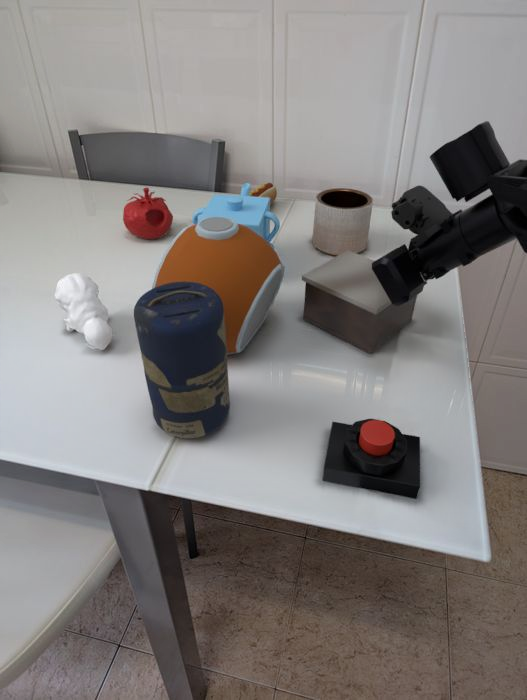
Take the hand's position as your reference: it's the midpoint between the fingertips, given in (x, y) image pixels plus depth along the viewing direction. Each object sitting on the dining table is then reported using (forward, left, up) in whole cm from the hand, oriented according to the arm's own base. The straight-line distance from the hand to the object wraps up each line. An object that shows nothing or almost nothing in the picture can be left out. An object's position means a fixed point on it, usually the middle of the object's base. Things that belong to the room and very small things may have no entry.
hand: (382, 280), depth 71 cm
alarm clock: (+20, +12, -9) cm, 25 cm away
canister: (+13, +29, -9) cm, 33 cm away
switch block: (-9, +25, -8) cm, 28 cm away
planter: (+16, -24, -9) cm, 30 cm away
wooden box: (+3, -1, -8) cm, 9 cm away
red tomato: (+52, -9, -9) cm, 53 cm away
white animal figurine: (+36, +23, -9) cm, 44 cm away
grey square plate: (+3, -1, -2) cm, 4 cm away
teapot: (+30, -9, -9) cm, 32 cm away
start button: (-9, +25, -5) cm, 27 cm away
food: (+39, -30, -9) cm, 50 cm away
